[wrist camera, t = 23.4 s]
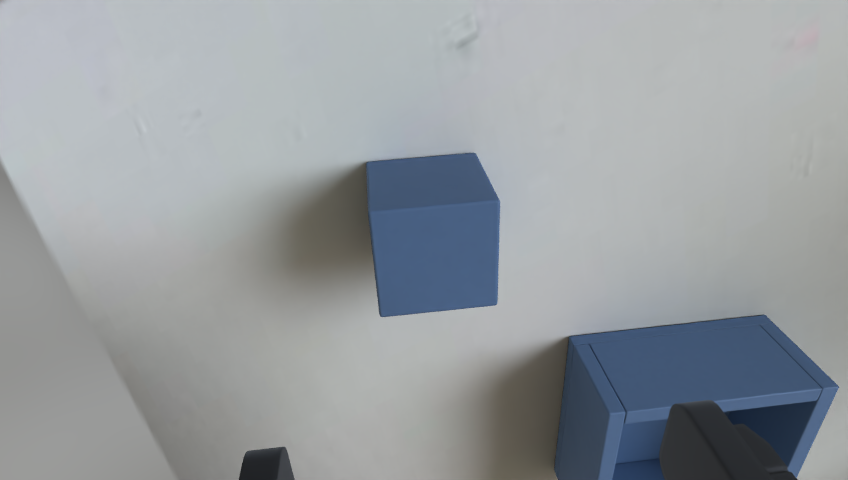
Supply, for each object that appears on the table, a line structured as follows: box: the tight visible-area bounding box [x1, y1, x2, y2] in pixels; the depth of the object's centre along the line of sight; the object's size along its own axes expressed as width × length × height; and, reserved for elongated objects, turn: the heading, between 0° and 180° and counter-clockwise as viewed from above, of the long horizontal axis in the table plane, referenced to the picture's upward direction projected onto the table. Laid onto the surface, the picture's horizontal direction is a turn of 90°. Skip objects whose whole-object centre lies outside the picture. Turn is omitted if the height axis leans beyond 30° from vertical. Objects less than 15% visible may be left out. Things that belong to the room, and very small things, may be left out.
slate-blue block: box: [366, 153, 500, 317], centre depth 19 cm, size 4×4×4 cm
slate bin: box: [554, 315, 839, 480], centre depth 26 cm, size 9×9×5 cm
